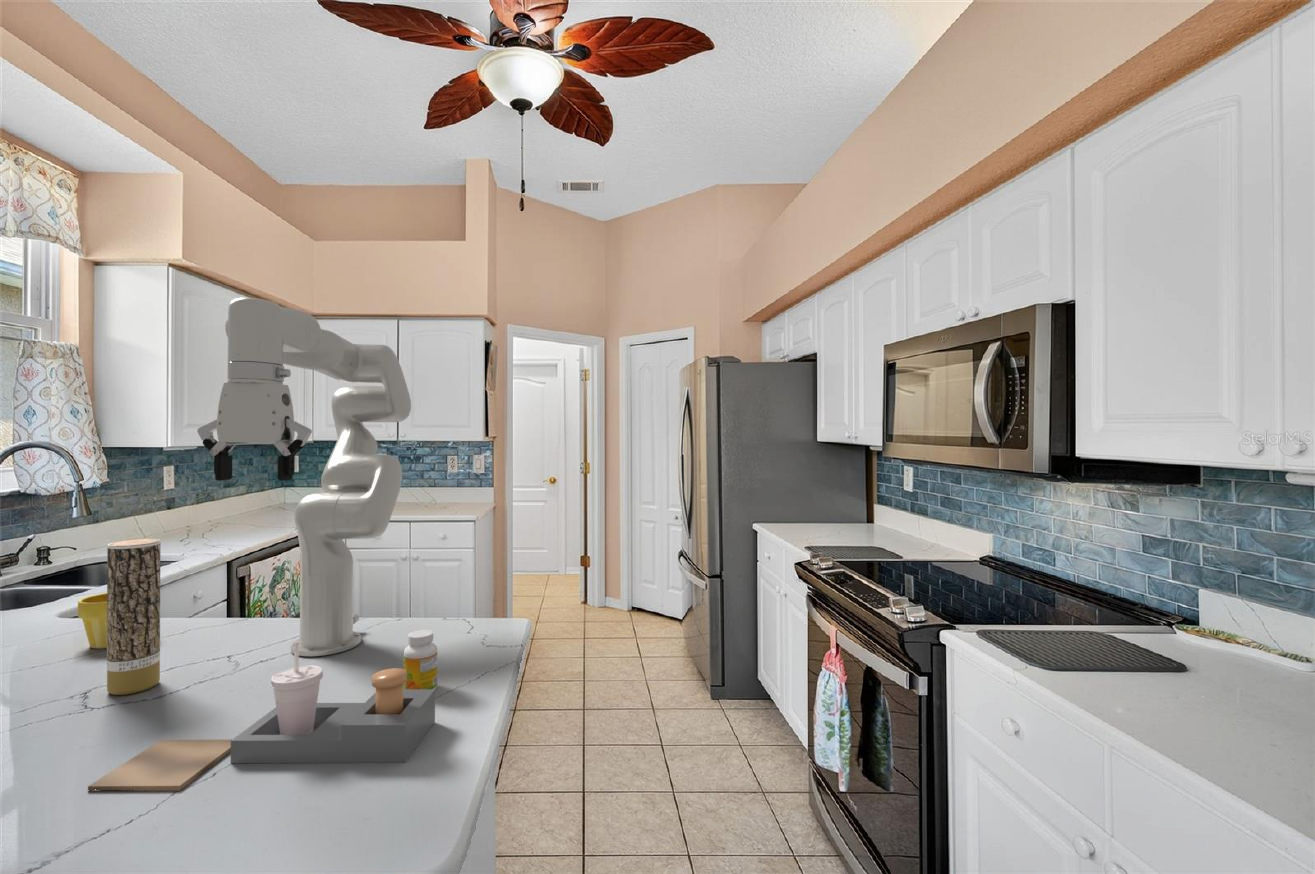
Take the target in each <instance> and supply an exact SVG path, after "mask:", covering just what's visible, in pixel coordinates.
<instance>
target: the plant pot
mask: <svg viewBox="0 0 1315 874" xmlns="http://www.w3.org/2000/svg"><path fill="white" fill-rule="evenodd" d="M77 616H78V618H79V619H81V620H82V622H83V627H84V630H85V634H86V637H87V641H88V645H89V648H92V649H98V650H99V649H107V592H104V593H103V592H102V593H98V594H94V595H90V596H89V595H88V596H86V597H83V598H80V599H79V600H78V601H77Z"/></svg>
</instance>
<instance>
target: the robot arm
mask: <svg viewBox="0 0 1315 874" xmlns="http://www.w3.org/2000/svg"><path fill="white" fill-rule="evenodd" d="M227 314H228V315H227V318H226V321H225V325H224V326H225V335H226V337H227V382H223V384H222V388H221V392H220V396H219V401H218V408H217V418H216V419H215V420H213V421H210V422H209V423H207V424H205V425H202V426H200V427H198V428H197V431H196V432H197V434H198V436H199V438H200V440H201V441H202V445H203V447H205V448H206V449H207V450H208V451H209V453H210V455H211V456H213V457H214V458H213V461H214V462H213V474H214V479H215V481H230V480H231V479H232V478H233V456H232V454H231V455H230V453H231V452H232V450H233V449H234V448H235V447H236V446H237V445H274V447H275V448H276V449H277V451H279V452H280V453H281V455H279V456H278V458H277V480H278V481H282V482H283V481H292V480H293V479H294V478H293V476H294V475H295V471H296V470H295V465H296V464H295V463H296V461H295V459H296V456H297V455H298V454H299V452H300V451H301V450H302V449H303V448H304V447H305V446H306V445H307V441H308V440H309V438H310V436H311V435H312V432H313V431H312V429H311V428H309V427H307V426H306V425H303V424H302V423H299V422H297V421H296V420H295V418H294V407H293V406H294V405H293V400H292V396H291V391H290V387H289V385H288V384H284V382H285V378H290V377H291V374H292V372H291V370H290V369H289V368H285V366H284V365H286V366H291V367H295V368H299V369H302V370H303V369H305V370H310V371H315V372H318V373H320V374H322V375H325V376H326V377H327V376H328V377H330V378H332V379H335V380H337V381H339V382H345V383H361V384H362V383H366V384H367V383H368V384H369V383H371V384H375V383H377V384H382V385H348V386H344V387H341V388H339V389H337V390H336V391H335V392H334V393H333V395H332V397H331V412H332V417H333V421H334V427H335V430H336V435H337V436H336V437H337V439H336V443H335V445H334V448H333V449H332V451H331V454H330V456H329V458H328V460H327V462H326V465H325V467H324V469H323V472H322V474H321V477H320V478H321V479H320V486H321V488H322V490H323V491H322V492H316V493H311V494H308V495H305V496H304V497H303V498H301V499H300V500H299V502H298V503H297V505H296V507H295V511H294V523H295V524H294V525H295V529H296V532H297V538H298V543H299V545H298V546H299V559H300V561H299V562H300V563H299V565H300V567H299V569H300V572H299V578H300V580H299V582H300V583H299V584H300V585H299V587H300V588H299V589H300V590H299V597H300V598H299V639H296V640H295V641H293V642H292V643H291V645H290V652H291V653H292V654H293V655H294V642H299V657H323V656H330V655H335V654H339V653H342V652H345V651H346V652H347V651H349V650H351V649H353V648H355V647H357V646H358V645H360V643H361V641H362V634H360V633H359V632H356V631H354V625H355V624H356V623H358V622H359V620H360V616H359V614H357V613H354V558H353V555H352V551H351V550H350V549H349V547H348V545H347V544H346V543H345V541H344V540H352V539H353V540H361V539H362V540H364V539H365V540H368V539H376V538H378V537H381V536H382V535H383V534H384V533H385V532H386V530H387V529H388V526H389V523H390V521H391V518H392V515H393V512H394V509H395V506H396V502H397V499H398V497H399V494H400V491H401V488H402V487H401V486H402V483H403V469H402V465H401V463H400V461H399V460H398V458H396V457H395V456H393V455H390V454H384V453H383V454H381V453H377V451H378V447H379V446H378V442H377V440H376V438H375V436H374V435H373V434H372V433H371V432H370V430H368V428H366V426H365V425H364V424H363V423H400V422H403V421H405V420H406V419H407V418H408V417H409V416H410V414H411V410H412V401H411V395H410V392H409V389H408V386H407V382H406V379H405V375H404V372H403V370H402V366H401V364H400V361H399V359H398V357H397V355H396V353H395V352H394V351H393V349H392V348H391V347H390V346H388V345H385V344H362V343H361V344H357V343H352V342H351V341H348V340H347V339H345V338H343V337H341V336H340V335H338V334H337V333H335V332H333V331H330V330H328V329H323V328H322V329H321V326H320V323H319V321H318V320H317V318H316V317H315V316H313V314H310V313H309V312H307V311H304V310H301V309H296V308H291V307H290V308H289V307H284V306H281V305H280V304H278V303H277V302H275V301H272V300H269V299H262V298H257V297H255V298H254V297H239V298H234V299H232V300H231V301H230V302H229V305H228V313H227ZM215 432H216V437H217V439H218V440H217V439H215V438H214V433H215ZM295 432H296V433H297V436H296V439H295Z"/></svg>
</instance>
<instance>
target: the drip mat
mask: <svg viewBox="0 0 1315 874" xmlns="http://www.w3.org/2000/svg"><path fill="white" fill-rule="evenodd" d="M231 740H232V738H231V739H160V740H159V741H157V742H156V743H155V744H153V745H151V746H150V747H148V748H145V750H144V751H141V752H140V753H138V754H137V755H135V756H133V757H132V758H130V759H129V760H128V761H126V762H124V763H123V764H121V765H119V766H118V767H116V768H115V769H113V770H111V771H110V772H109V773H107V774H105V775H104V776H102V777H101V778H99V779H97V780H96V781H94V782H92V783H91V784H90V785H87V791H88V790H95V789H96V790H124V791H123V792H126V791H125V790H128V791H127V792H145V790H146V792H155V791H156V792H164V791H165V792H166V791H167V792H170V791H171V792H176V791H178V792H179V791H181V790H182V789H184V788H185V787H186V786H188V785H189V784H190V783H192V782H193V781H194V780H196V779H198V778H199V777H200V776H201V775H202V774H204V773H205V772H206V771H207V770H208V769H210V768H211V767H212V766H214V765H215V764H216V763H218V762H219V761H221V759H223V758H224V757H225V756H227V755H228V754H231ZM129 790H130V791H129ZM132 790H133V791H132Z"/></svg>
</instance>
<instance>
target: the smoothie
mask: <svg viewBox="0 0 1315 874" xmlns="http://www.w3.org/2000/svg"><path fill="white" fill-rule="evenodd" d="M293 642H294V654H293V655H294V657H293V667H289V668H286V669H283V670H280V671H279V672H277V673H275V674H274V675H272V676H271V679H270V687H271V688H272V689H273V695H274V701H275V708H276V709H277V716H278V723H279V730H280V733H279V735H310V734H311V733H312V732H313V731H314V729H315V728H314V721H315V714H316V707H317V703H318V699H319V691H320V685H321V684H320V683H321V680H322V679H323V677H324V672H323V671H324V669H323V668H322V667H321V666H318V665H312V664H311V665H309V664H308V665H300V666H299V664H300V663H299V660H300V656H299V642H295V641H293Z"/></svg>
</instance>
